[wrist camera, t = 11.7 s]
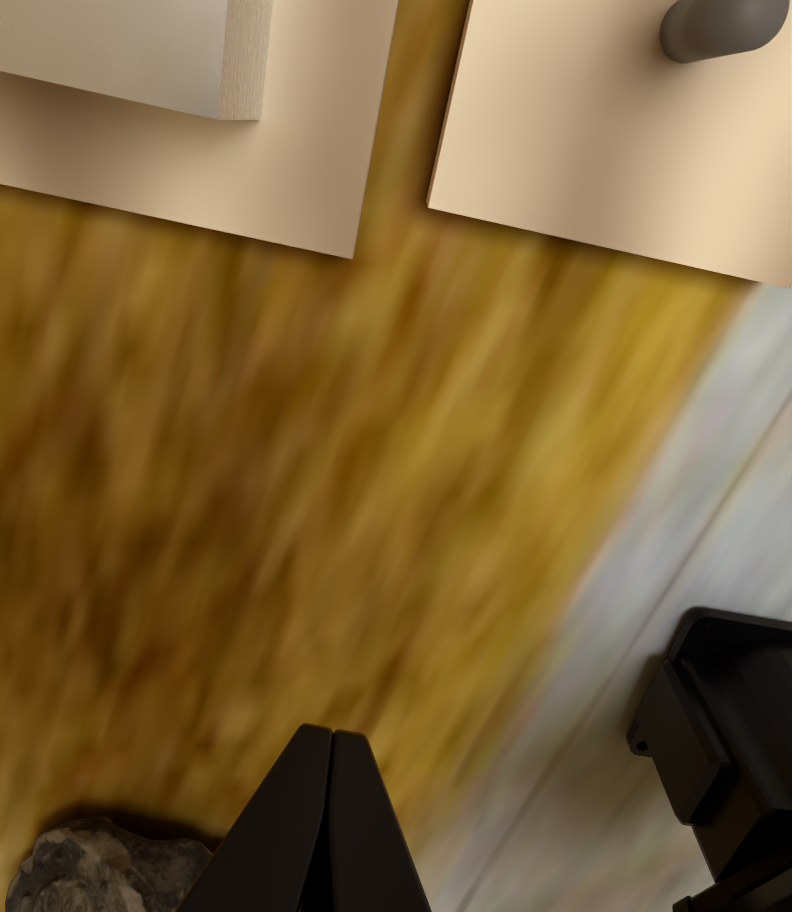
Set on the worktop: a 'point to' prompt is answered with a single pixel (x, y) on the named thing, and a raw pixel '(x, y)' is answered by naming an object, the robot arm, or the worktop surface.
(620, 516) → the worktop surface
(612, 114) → the stand
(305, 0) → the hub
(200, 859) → the carved stone fragment
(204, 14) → the collar
